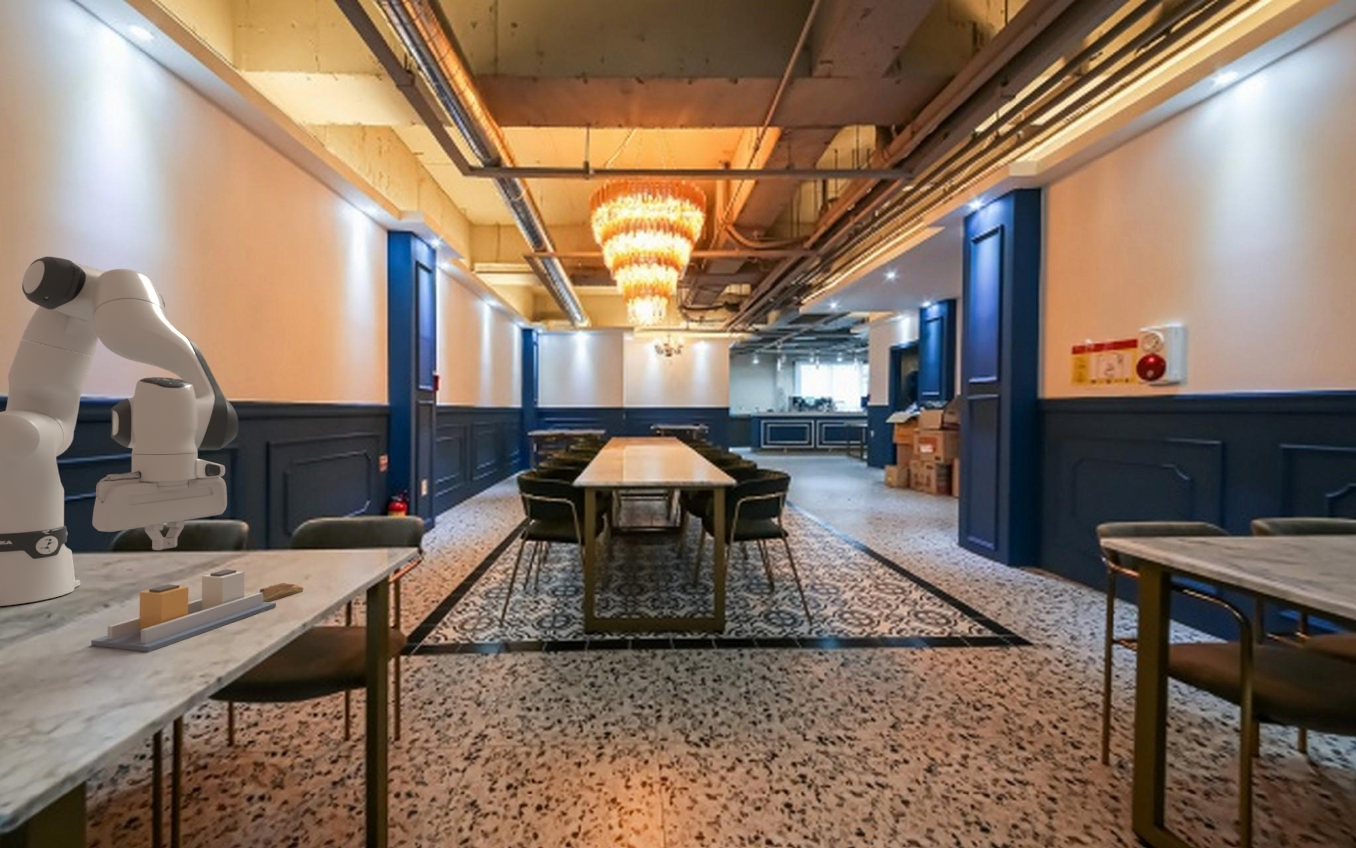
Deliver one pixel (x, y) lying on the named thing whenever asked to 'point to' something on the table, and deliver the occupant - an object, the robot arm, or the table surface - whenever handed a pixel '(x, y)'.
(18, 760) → the table surface
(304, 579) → the table surface
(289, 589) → the shard
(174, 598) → the block
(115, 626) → the rail panel
